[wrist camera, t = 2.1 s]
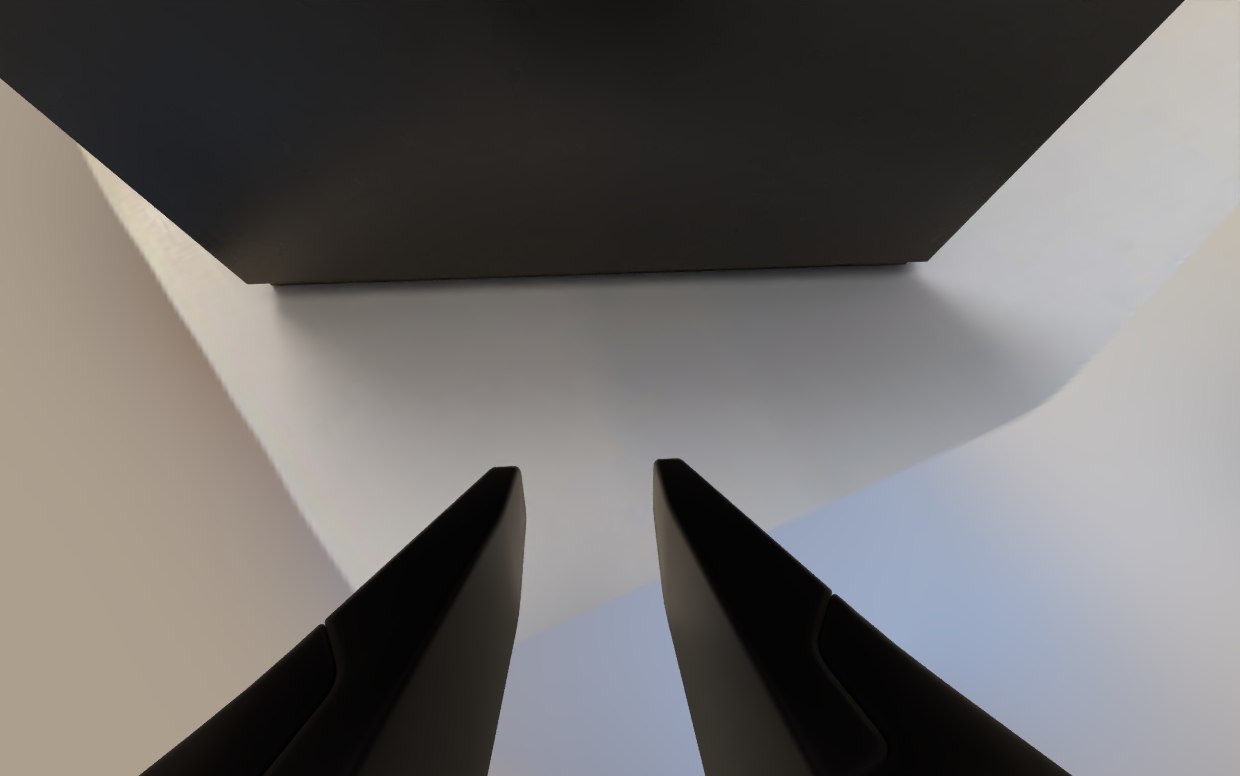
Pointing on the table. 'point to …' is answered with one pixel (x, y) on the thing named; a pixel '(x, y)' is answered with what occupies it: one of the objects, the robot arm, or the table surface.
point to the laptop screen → (563, 124)
